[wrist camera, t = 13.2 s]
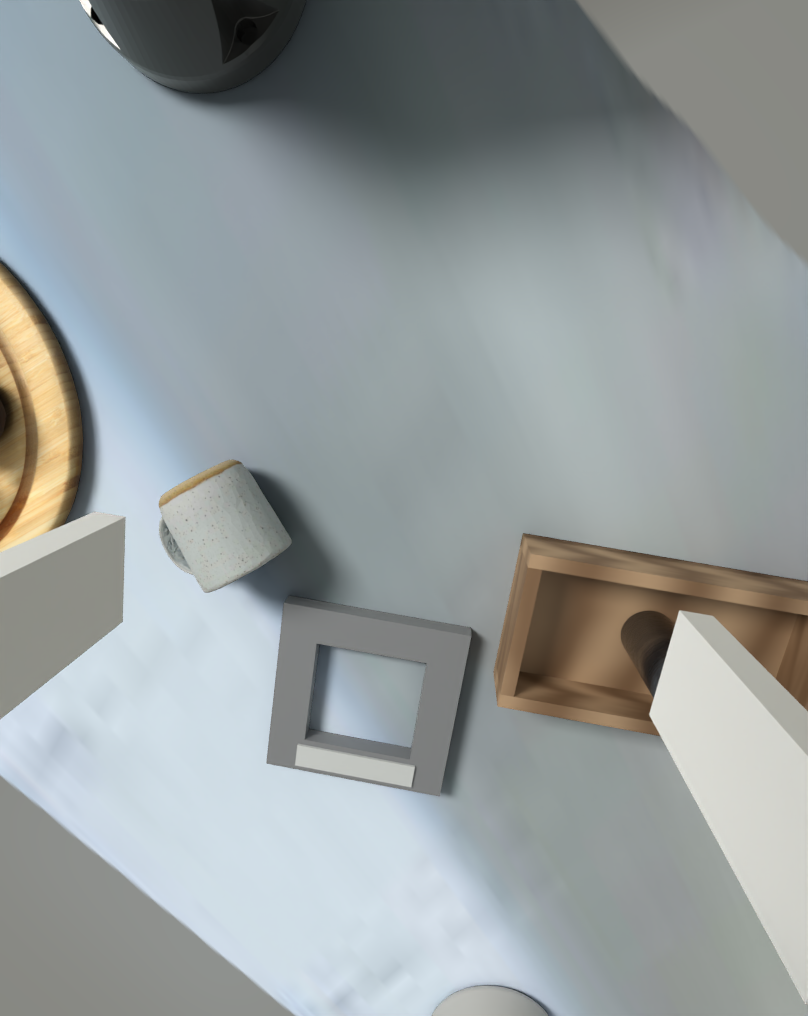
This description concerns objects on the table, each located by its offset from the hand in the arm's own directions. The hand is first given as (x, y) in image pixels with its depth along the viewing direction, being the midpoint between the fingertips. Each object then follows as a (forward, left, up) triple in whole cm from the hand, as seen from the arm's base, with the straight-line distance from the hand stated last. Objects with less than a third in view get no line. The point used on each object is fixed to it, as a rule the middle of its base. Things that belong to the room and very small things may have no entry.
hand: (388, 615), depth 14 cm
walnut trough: (+12, +19, -32) cm, 39 cm away
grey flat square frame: (+22, -2, -32) cm, 39 cm away
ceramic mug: (+9, -15, -32) cm, 36 cm away
